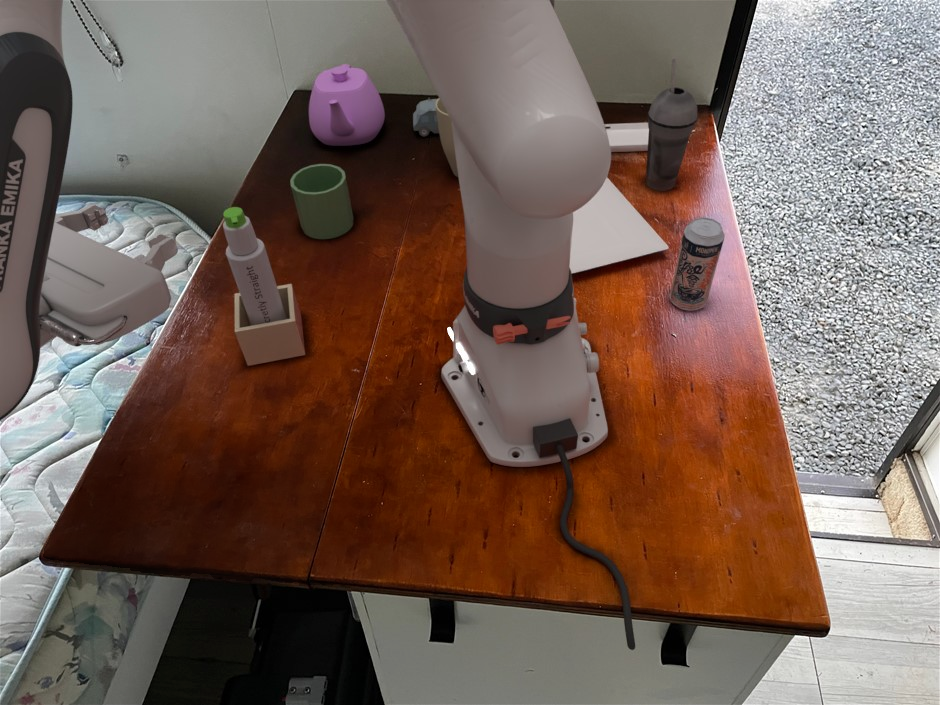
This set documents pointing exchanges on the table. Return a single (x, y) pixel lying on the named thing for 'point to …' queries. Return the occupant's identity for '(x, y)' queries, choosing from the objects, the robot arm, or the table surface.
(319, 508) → the table surface
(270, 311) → the bottle
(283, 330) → the ivory holder
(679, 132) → the beverage cup
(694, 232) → the beer can
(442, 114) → the mug
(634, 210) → the plate
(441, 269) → the table surface
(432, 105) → the toy car
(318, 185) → the green cup
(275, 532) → the table surface
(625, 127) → the phone case
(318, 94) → the teapot
